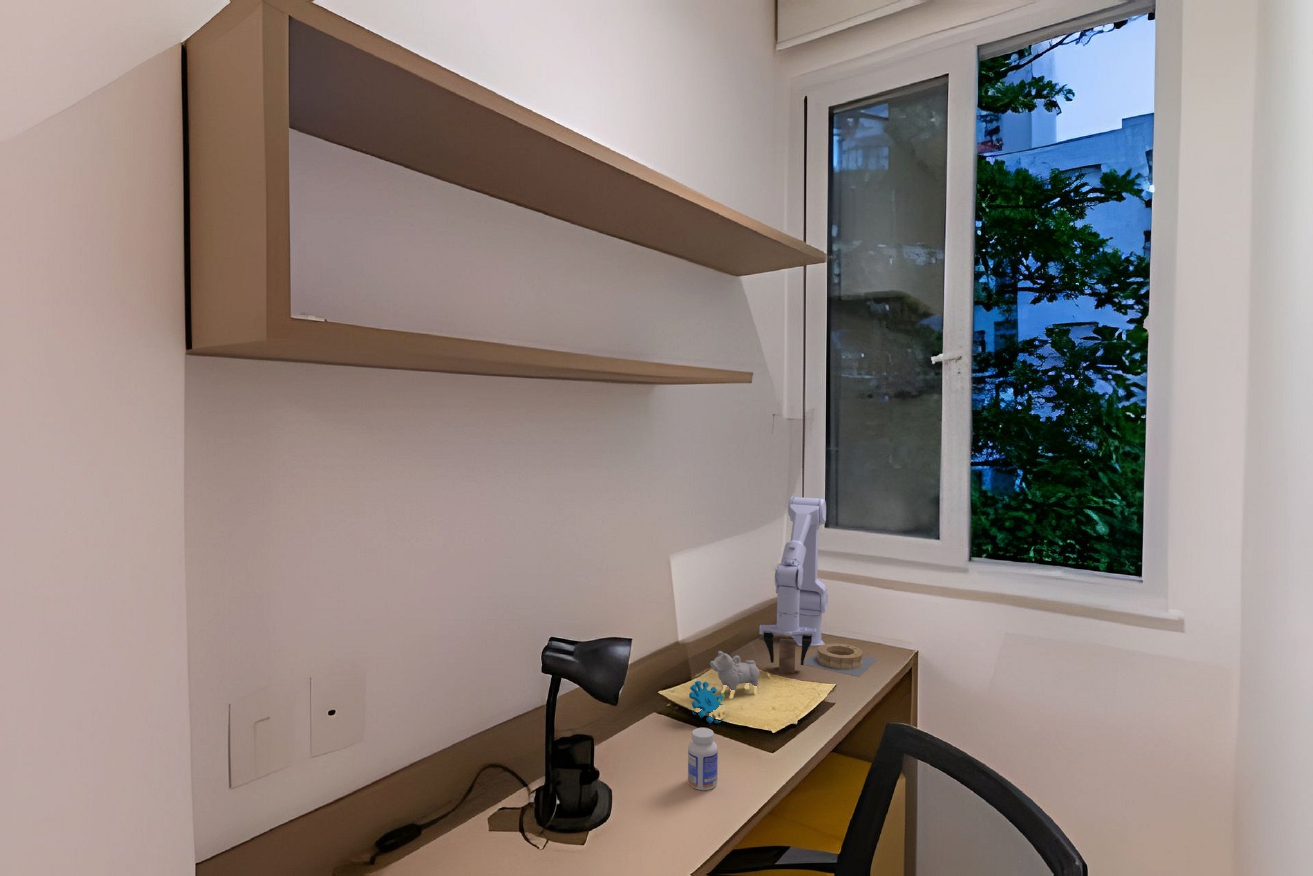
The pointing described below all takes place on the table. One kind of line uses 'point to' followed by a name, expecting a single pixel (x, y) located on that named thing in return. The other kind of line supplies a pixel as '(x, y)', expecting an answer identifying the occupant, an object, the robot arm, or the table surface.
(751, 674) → the grey dog figurine
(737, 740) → the table surface
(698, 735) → the pill bottle
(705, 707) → the blue knobby piece
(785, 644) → the walnut peg
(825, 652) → the tan stone ring
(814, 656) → the craft mat
